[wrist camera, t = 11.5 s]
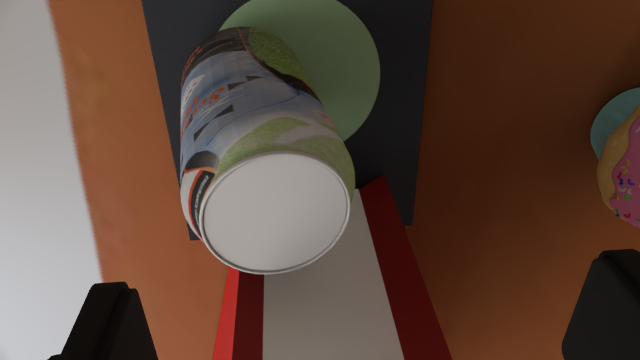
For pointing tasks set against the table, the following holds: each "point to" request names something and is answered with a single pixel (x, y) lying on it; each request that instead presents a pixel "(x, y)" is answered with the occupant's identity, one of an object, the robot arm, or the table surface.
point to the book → (338, 298)
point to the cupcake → (619, 154)
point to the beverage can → (259, 155)
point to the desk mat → (322, 71)
